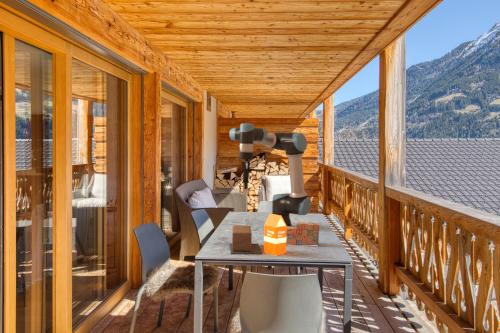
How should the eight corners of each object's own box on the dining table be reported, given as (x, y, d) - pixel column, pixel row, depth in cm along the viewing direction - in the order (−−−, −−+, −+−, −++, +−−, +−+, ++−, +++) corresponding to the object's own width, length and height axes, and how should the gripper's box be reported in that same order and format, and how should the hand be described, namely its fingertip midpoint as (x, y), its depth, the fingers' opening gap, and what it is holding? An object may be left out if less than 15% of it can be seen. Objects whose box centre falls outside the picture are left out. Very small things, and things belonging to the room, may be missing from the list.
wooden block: (250, 242, 245) (251, 251, 225) (232, 242, 245) (231, 251, 225) (250, 225, 245) (251, 232, 225) (232, 225, 244) (232, 232, 224)
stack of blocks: (279, 244, 248) (280, 222, 248) (281, 241, 254) (282, 220, 254) (317, 246, 244) (318, 224, 243) (318, 244, 250) (319, 223, 249)
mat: (258, 244, 244) (258, 243, 244) (261, 254, 224) (262, 252, 224) (229, 244, 243) (229, 243, 243) (230, 254, 223) (230, 252, 223)
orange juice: (274, 250, 234) (275, 212, 233) (286, 253, 227) (287, 215, 226) (263, 252, 229) (264, 214, 227) (275, 255, 222) (276, 216, 221)
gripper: (238, 151, 245) (237, 193, 246) (240, 151, 232) (239, 196, 233) (252, 151, 246) (251, 193, 247) (254, 152, 233) (253, 196, 234)
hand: (245, 194), depth 240 cm, fingers closed
